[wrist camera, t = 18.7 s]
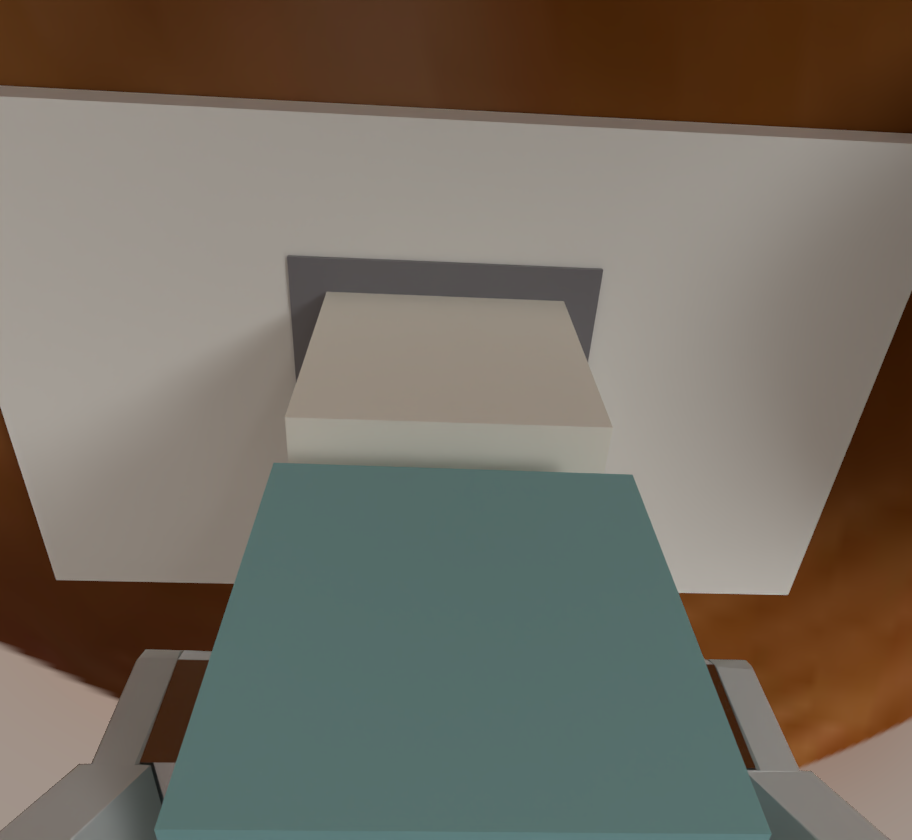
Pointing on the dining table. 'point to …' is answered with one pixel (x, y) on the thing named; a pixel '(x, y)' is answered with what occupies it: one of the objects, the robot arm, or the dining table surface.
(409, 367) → the off-white block
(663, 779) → the teal block
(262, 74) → the dining table surface
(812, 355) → the white flat board
